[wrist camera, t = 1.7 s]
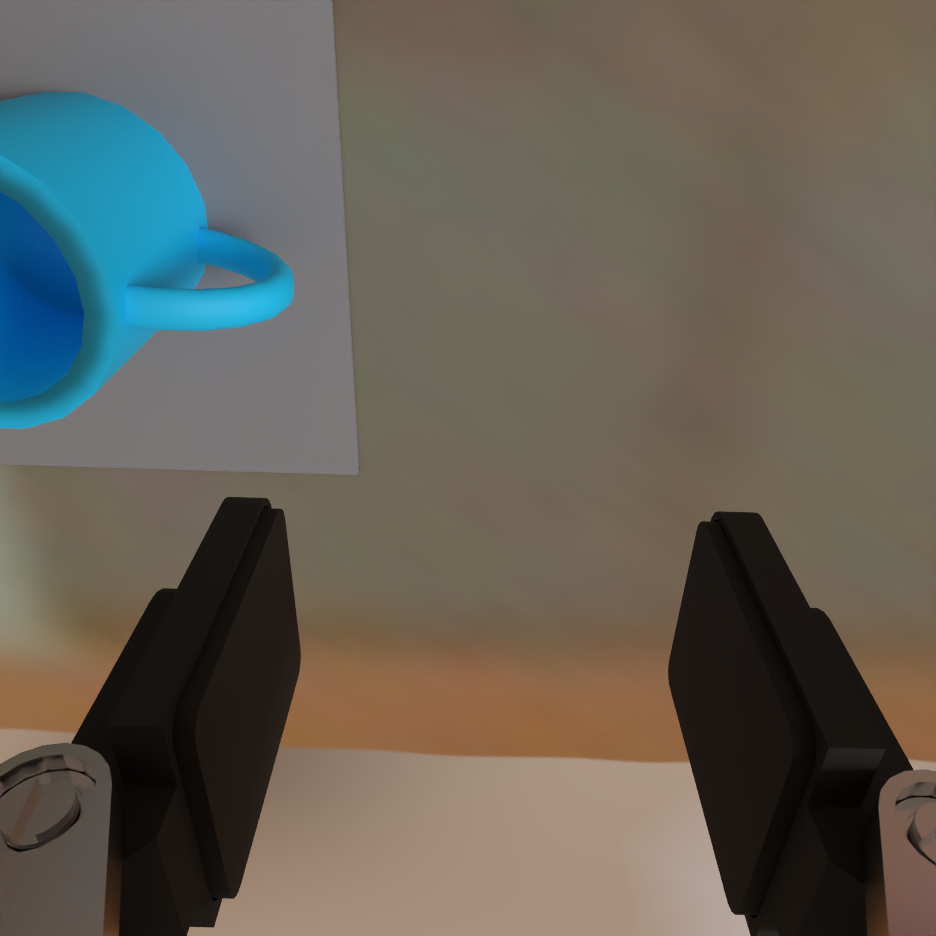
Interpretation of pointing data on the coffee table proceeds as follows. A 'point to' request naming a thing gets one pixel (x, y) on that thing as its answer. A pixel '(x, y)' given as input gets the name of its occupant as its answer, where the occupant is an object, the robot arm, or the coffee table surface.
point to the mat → (214, 228)
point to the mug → (104, 252)
